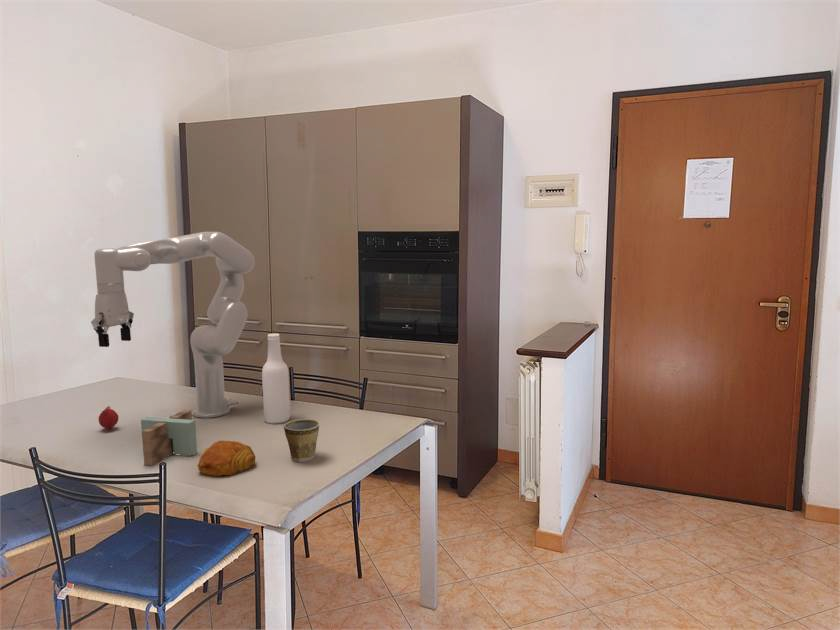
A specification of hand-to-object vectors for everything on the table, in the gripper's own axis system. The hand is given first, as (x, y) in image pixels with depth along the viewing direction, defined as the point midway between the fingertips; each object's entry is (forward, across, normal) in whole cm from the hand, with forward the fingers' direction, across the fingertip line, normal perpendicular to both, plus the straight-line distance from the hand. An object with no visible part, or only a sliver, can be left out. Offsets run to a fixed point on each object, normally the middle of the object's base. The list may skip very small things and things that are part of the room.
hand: (115, 343), depth 193 cm
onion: (+31, -5, -9) cm, 32 cm away
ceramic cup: (+31, +4, +63) cm, 70 cm away
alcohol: (+31, -26, +41) cm, 57 cm away
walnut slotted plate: (+30, +9, +23) cm, 39 cm away
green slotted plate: (+30, +9, +23) cm, 39 cm away
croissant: (+31, +16, +45) cm, 57 cm away
